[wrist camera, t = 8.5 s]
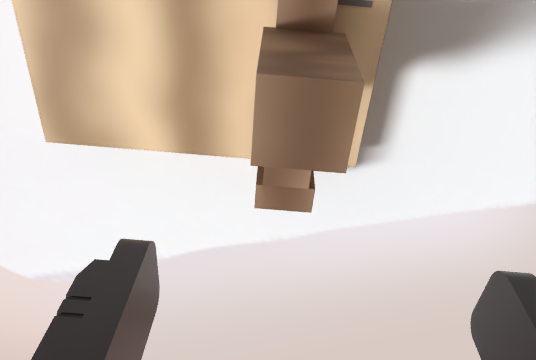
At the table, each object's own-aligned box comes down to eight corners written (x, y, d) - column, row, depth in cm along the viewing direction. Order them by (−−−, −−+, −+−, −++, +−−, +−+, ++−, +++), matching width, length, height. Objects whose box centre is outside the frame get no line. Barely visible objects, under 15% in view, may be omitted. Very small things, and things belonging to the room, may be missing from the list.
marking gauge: (340, -17, 24) (373, 41, 15) (311, 174, 31) (321, 290, 22) (268, -23, 24) (259, 31, 15) (255, 170, 31) (243, 284, 22)
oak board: (399, -87, 23) (411, -84, 20) (350, 147, 30) (355, 168, 28) (10, -122, 22) (-19, -123, 20) (62, 124, 30) (45, 142, 28)
